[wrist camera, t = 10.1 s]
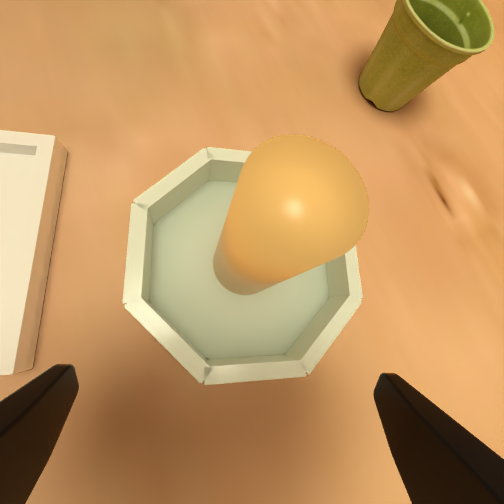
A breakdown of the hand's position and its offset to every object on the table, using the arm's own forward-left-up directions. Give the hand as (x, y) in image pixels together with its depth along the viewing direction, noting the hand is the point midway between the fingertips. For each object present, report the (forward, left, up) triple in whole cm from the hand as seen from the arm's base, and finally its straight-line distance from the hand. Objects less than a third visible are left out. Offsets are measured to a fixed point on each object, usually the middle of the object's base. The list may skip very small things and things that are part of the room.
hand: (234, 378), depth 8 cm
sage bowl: (+6, -3, -13) cm, 14 cm away
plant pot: (+27, -20, -13) cm, 36 cm away
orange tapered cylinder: (+6, -3, -12) cm, 13 cm away
